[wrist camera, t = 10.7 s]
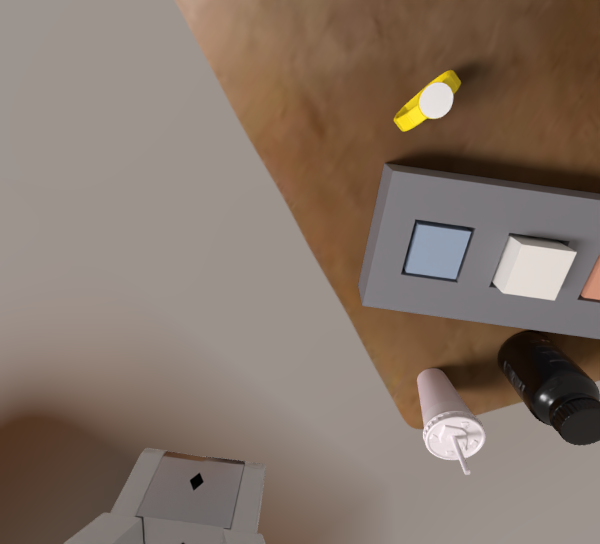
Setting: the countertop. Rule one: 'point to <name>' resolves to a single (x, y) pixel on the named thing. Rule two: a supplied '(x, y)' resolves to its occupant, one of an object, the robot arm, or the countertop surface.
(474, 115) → the countertop surface
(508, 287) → the white key
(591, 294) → the terracotta key
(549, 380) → the supplement bottle
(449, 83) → the watch
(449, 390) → the smoothie
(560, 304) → the key panel
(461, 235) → the slate blue key
